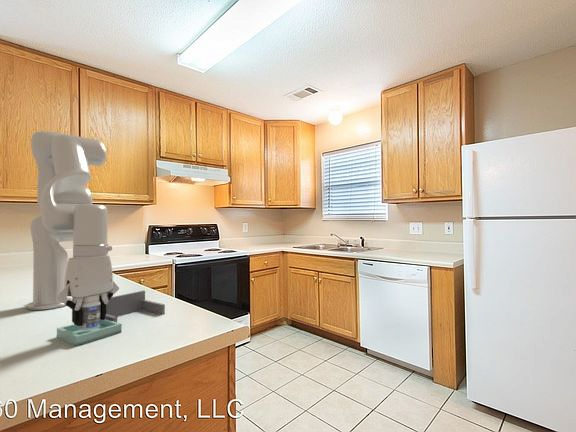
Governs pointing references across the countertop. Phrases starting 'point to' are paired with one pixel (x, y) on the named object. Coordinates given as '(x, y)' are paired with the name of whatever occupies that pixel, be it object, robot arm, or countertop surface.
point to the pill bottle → (90, 312)
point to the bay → (131, 305)
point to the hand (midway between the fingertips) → (89, 321)
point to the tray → (88, 332)
